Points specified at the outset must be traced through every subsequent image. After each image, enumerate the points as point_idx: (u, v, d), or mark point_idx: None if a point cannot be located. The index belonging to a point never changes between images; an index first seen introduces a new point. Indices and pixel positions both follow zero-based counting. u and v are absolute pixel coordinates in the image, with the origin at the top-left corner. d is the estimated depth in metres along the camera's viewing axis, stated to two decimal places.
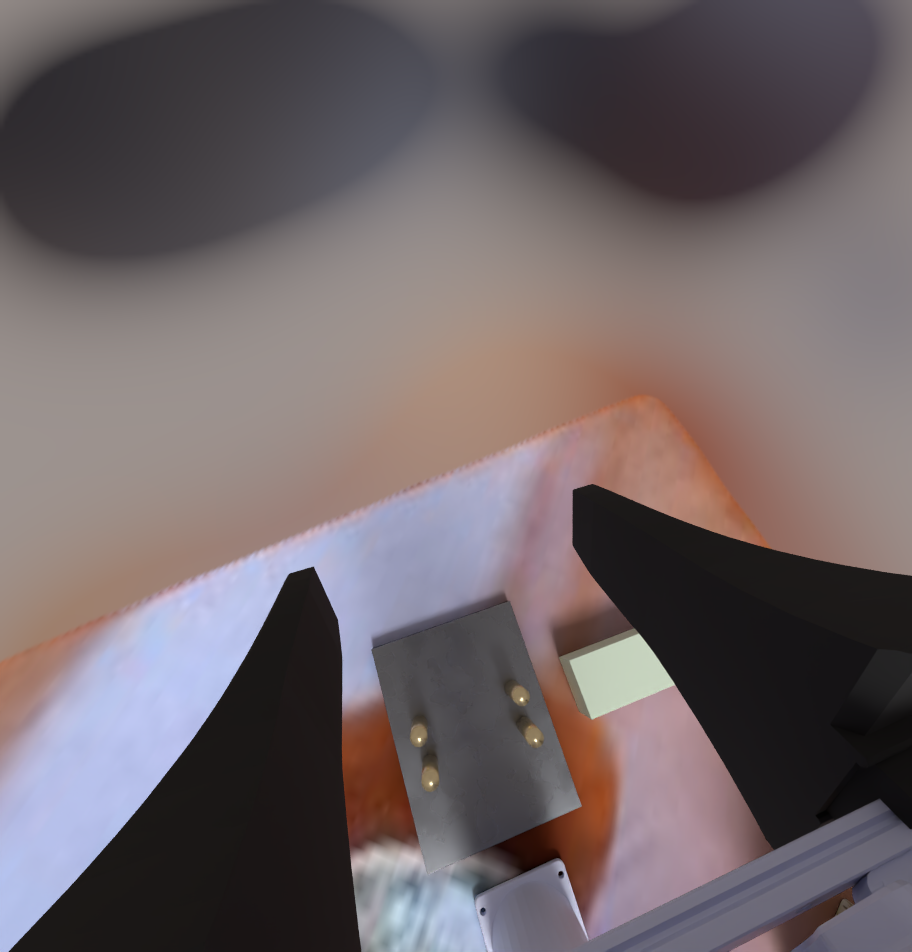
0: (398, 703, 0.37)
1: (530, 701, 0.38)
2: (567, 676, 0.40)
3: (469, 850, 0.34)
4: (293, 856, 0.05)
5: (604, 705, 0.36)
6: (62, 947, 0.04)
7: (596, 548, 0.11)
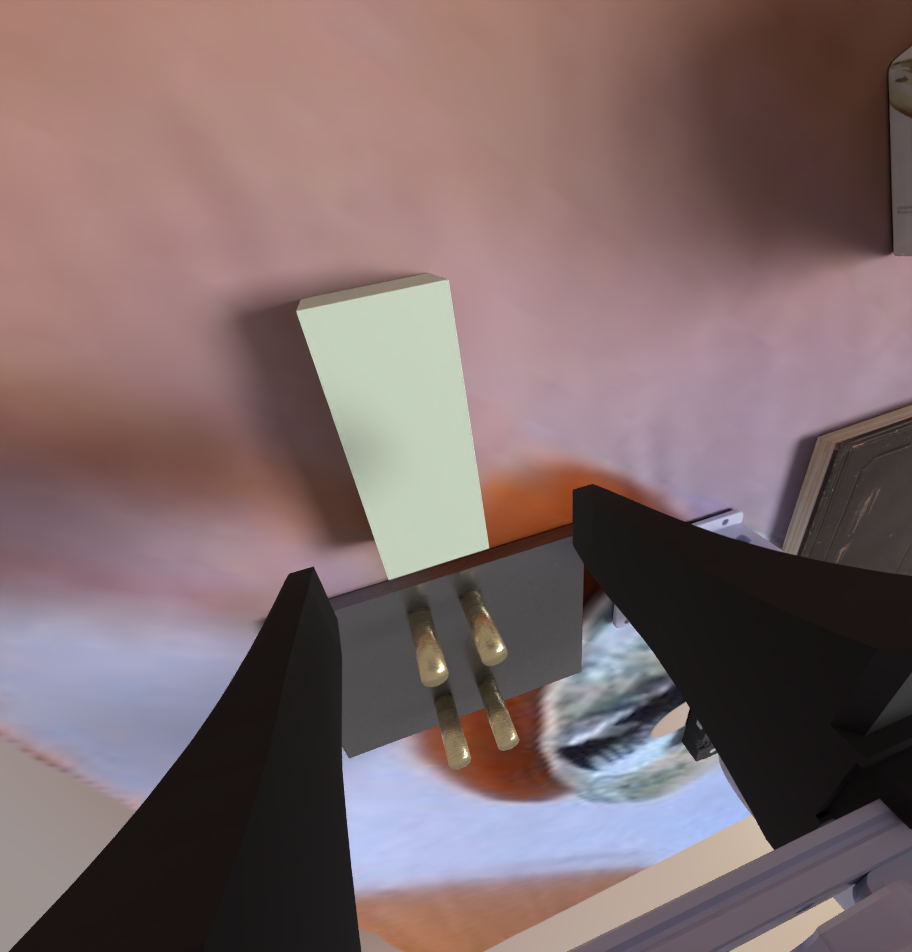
0: (417, 723, 0.29)
1: (441, 594, 0.24)
2: None
3: (577, 642, 0.30)
4: (293, 856, 0.05)
5: (472, 527, 0.19)
6: (62, 947, 0.04)
7: (596, 548, 0.11)
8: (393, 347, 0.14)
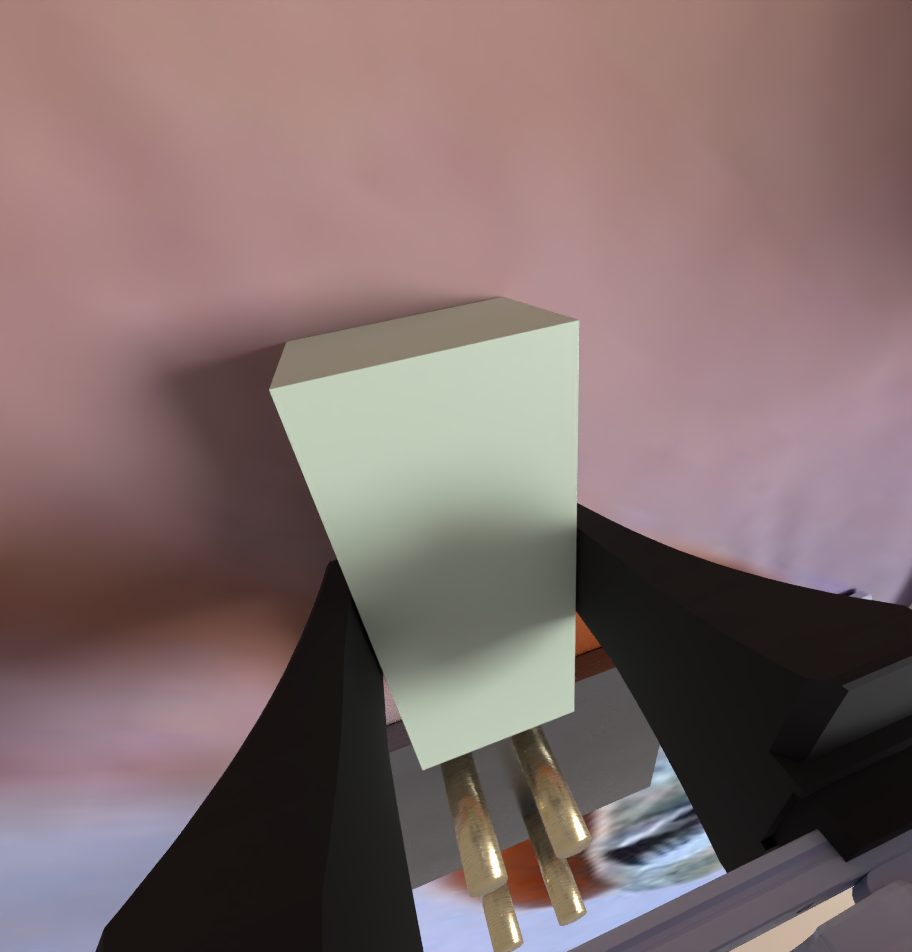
0: (445, 866, 0.22)
1: None
2: None
3: (650, 758, 0.23)
4: (367, 826, 0.06)
5: (555, 690, 0.12)
6: (176, 901, 0.04)
7: None
8: (461, 446, 0.07)
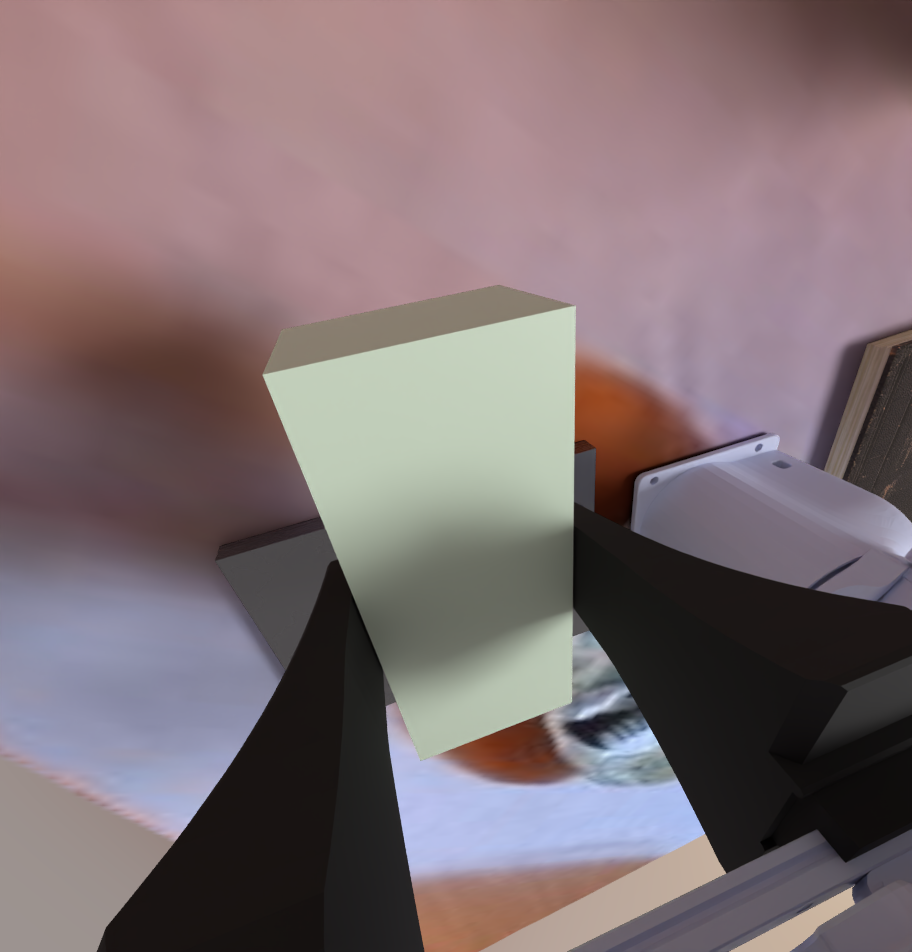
0: None
1: None
2: None
3: None
4: (368, 826, 0.06)
5: (553, 681, 0.12)
6: (177, 900, 0.04)
7: None
8: (457, 434, 0.07)
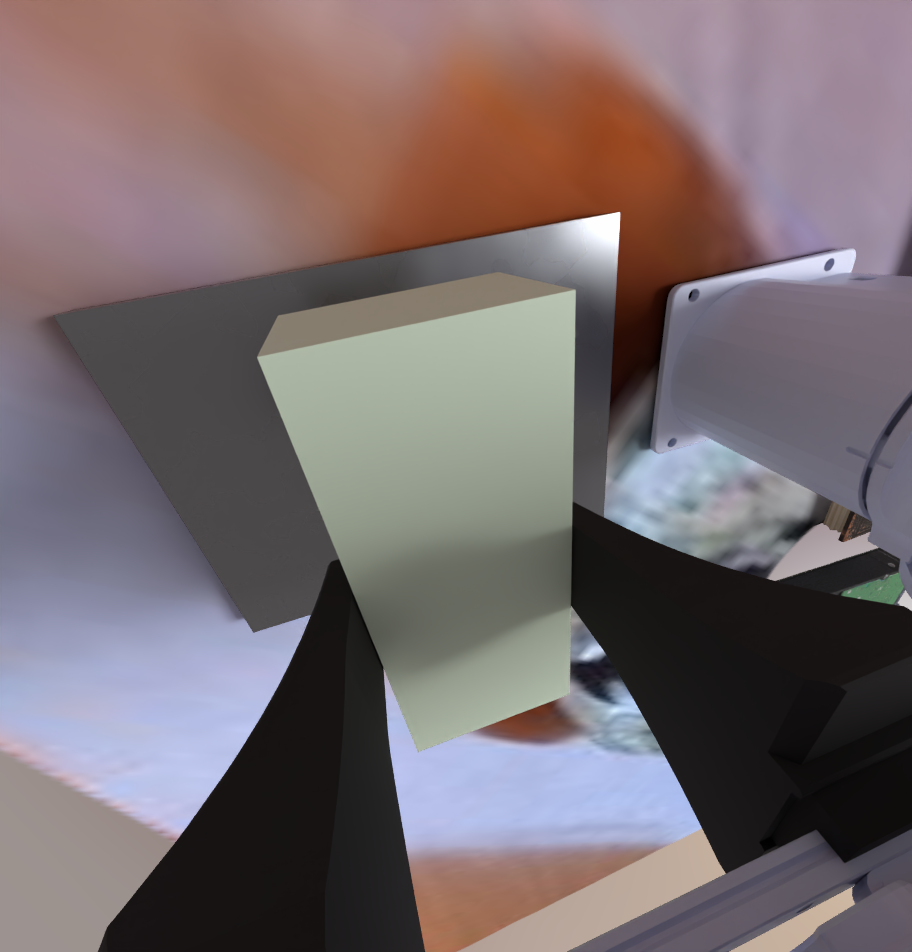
0: None
1: None
2: None
3: (599, 463, 0.20)
4: (369, 825, 0.06)
5: (550, 672, 0.12)
6: (178, 900, 0.04)
7: None
8: (455, 420, 0.07)
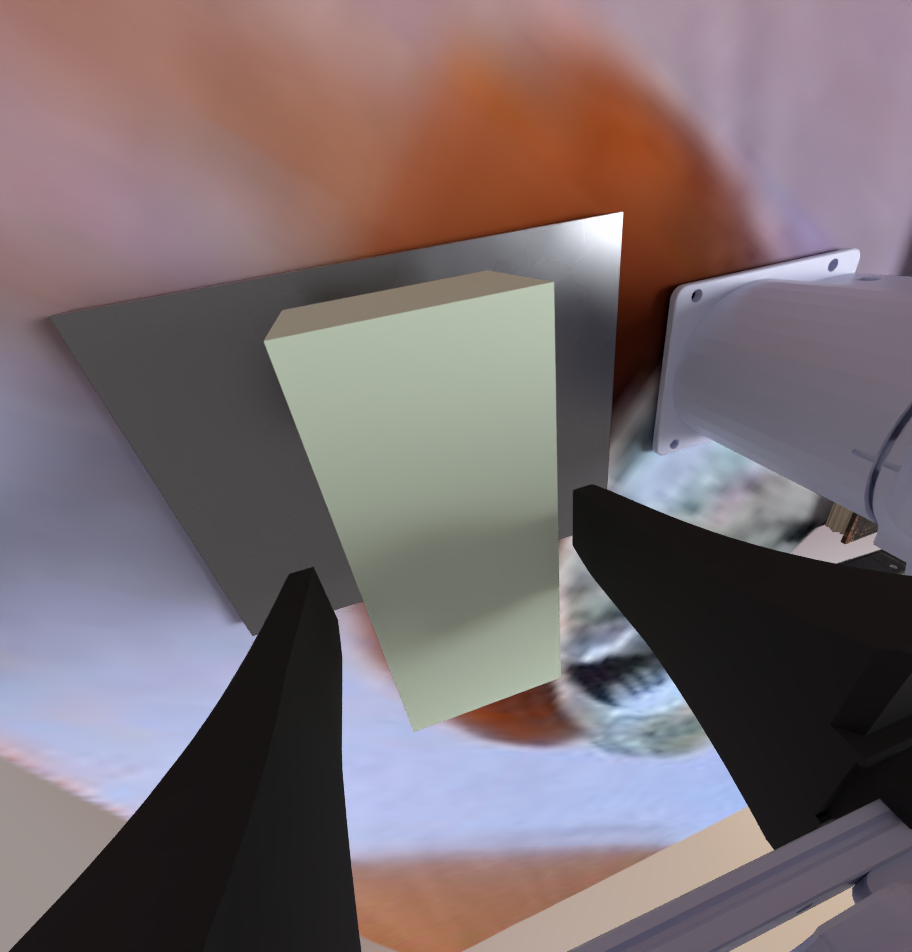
0: None
1: None
2: None
3: (601, 465, 0.20)
4: (293, 856, 0.05)
5: (541, 654, 0.13)
6: (62, 947, 0.04)
7: (596, 548, 0.11)
8: (444, 403, 0.08)
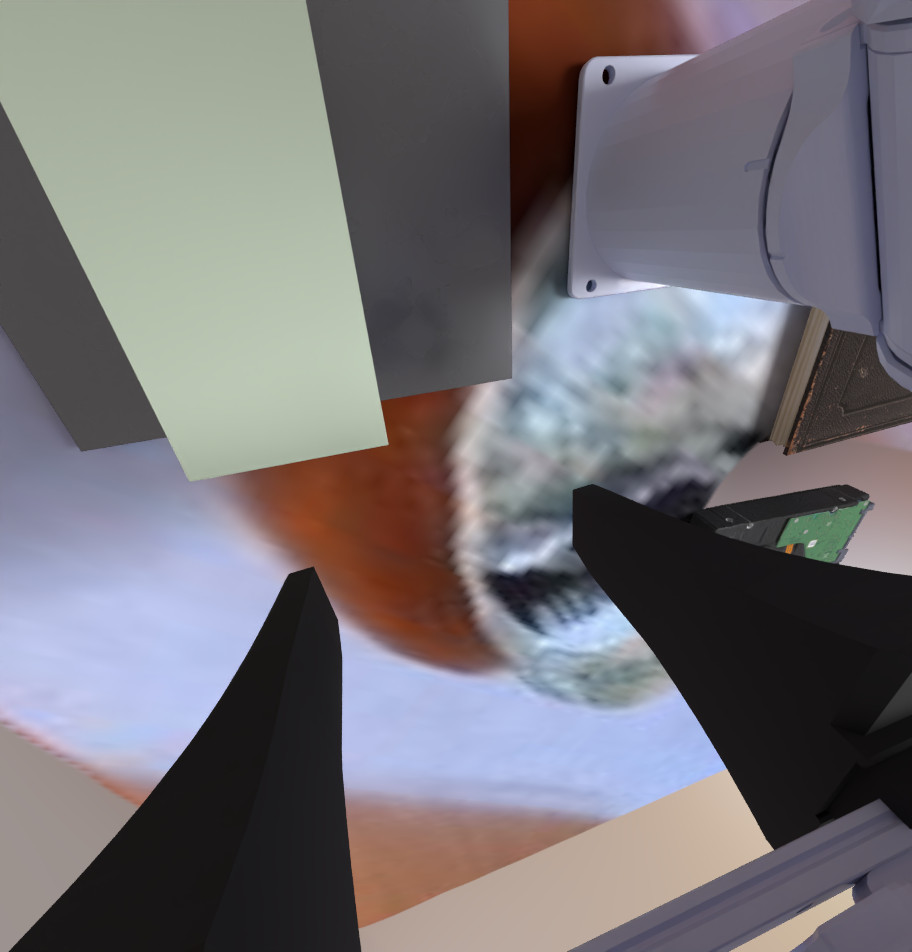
0: None
1: None
2: None
3: (503, 292, 0.17)
4: (293, 856, 0.05)
5: (353, 393, 0.10)
6: (62, 947, 0.04)
7: (596, 548, 0.11)
8: None
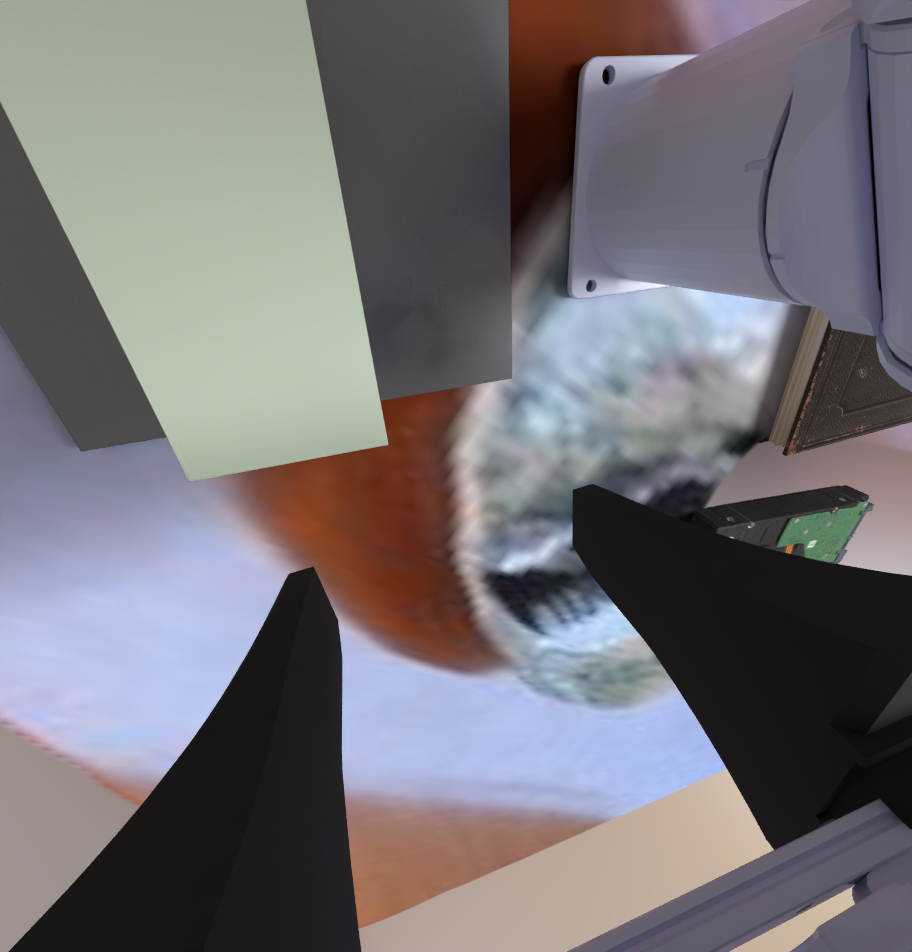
0: None
1: None
2: None
3: (502, 292, 0.17)
4: (293, 856, 0.05)
5: (353, 393, 0.10)
6: (62, 947, 0.04)
7: (596, 548, 0.11)
8: None
